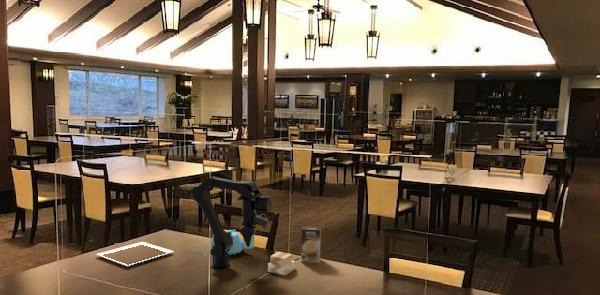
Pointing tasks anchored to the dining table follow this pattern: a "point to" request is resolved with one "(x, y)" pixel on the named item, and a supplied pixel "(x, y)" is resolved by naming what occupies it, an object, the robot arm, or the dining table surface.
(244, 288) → the dining table surface
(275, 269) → the birch base block
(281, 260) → the oak top block
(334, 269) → the dining table surface
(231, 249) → the teapot
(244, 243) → the teal cylinder
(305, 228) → the coffee box
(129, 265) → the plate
